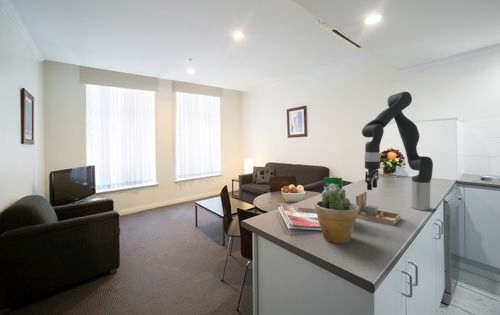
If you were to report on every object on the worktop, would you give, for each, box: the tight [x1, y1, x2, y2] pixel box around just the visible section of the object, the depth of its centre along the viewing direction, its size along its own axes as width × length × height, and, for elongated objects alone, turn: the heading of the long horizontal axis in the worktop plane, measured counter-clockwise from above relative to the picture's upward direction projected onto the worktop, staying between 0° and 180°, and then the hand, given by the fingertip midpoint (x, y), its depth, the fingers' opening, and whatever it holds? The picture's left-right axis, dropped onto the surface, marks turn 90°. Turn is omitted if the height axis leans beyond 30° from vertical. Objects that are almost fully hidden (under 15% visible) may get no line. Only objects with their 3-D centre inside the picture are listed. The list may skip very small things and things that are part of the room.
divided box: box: [355, 191, 401, 227], centre depth 119 cm, size 14×18×13 cm
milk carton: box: [323, 175, 343, 191], centre depth 119 cm, size 9×9×25 cm
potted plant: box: [314, 184, 359, 244], centre depth 97 cm, size 18×19×25 cm
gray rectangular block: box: [366, 204, 379, 217], centre depth 122 cm, size 4×4×6 cm
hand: (372, 188), depth 121 cm, fingers open, 8 cm apart
